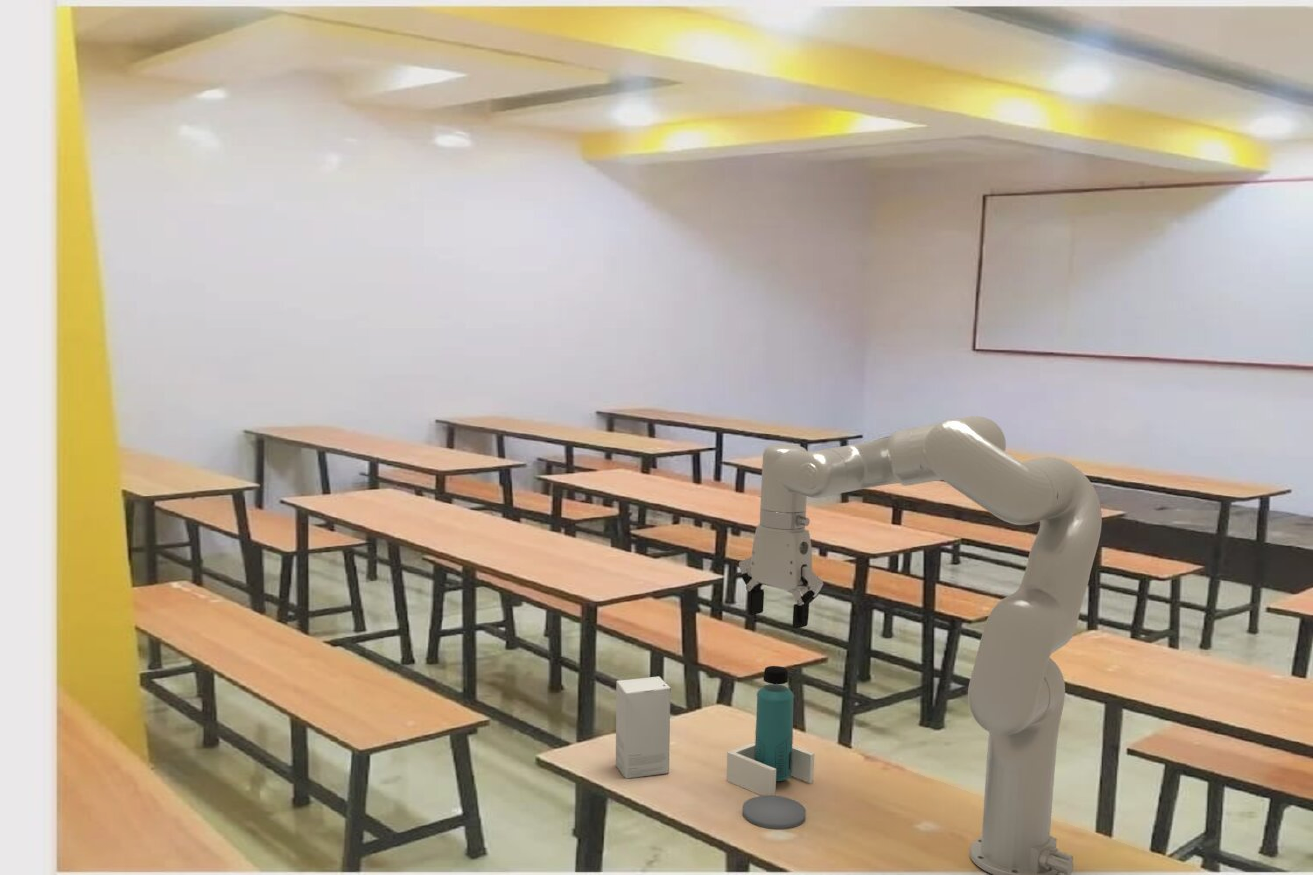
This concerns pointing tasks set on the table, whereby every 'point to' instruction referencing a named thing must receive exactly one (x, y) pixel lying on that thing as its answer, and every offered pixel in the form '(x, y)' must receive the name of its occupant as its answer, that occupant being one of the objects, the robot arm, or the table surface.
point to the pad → (774, 812)
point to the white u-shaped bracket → (765, 769)
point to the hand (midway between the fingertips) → (777, 620)
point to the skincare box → (642, 727)
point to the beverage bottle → (775, 723)
